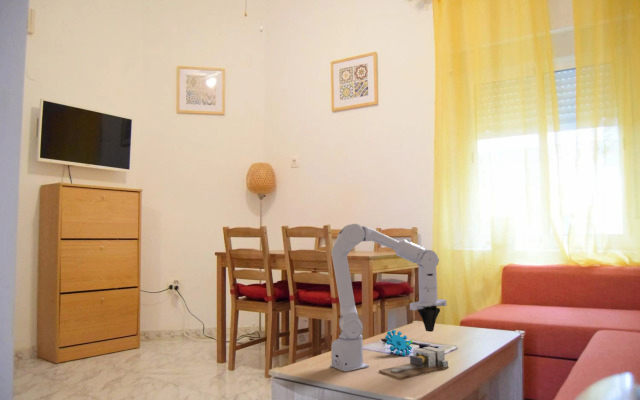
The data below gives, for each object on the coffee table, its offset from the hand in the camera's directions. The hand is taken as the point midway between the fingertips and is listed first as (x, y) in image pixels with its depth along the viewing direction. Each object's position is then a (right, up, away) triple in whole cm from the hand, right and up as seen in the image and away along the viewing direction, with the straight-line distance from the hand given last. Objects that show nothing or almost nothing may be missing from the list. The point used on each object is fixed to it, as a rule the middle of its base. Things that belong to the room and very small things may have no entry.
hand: (429, 331), depth 152 cm
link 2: (+1, -9, -4) cm, 10 cm away
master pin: (-2, -9, -5) cm, 10 cm away
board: (-6, -10, -8) cm, 14 cm away
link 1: (-3, -9, -4) cm, 11 cm away
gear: (-7, -11, +13) cm, 18 cm away
